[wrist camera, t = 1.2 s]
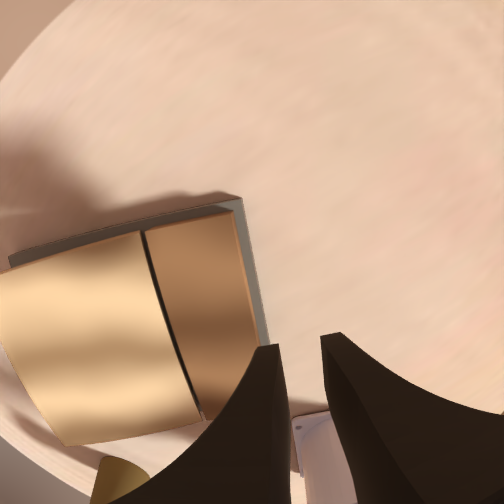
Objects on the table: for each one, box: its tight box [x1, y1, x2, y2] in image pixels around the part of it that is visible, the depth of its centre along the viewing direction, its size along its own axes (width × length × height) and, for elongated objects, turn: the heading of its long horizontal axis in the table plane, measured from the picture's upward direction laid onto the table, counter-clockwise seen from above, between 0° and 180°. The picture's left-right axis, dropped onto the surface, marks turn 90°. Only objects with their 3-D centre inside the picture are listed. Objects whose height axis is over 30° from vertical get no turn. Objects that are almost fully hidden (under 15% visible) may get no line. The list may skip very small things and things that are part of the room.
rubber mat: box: [8, 198, 270, 411], centre depth 19 cm, size 14×18×1 cm
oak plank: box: [0, 230, 202, 447], centre depth 16 cm, size 13×11×2 cm
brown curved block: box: [145, 210, 261, 420], centre depth 17 cm, size 13×4×2 cm, turn 10°
